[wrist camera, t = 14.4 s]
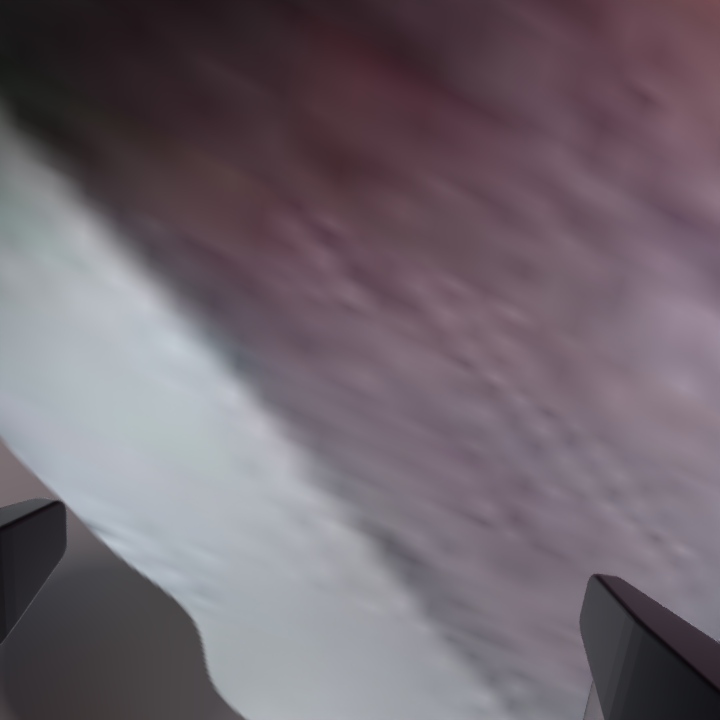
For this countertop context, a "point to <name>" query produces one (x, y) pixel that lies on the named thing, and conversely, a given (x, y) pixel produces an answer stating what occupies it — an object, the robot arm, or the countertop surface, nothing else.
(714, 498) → the countertop surface
